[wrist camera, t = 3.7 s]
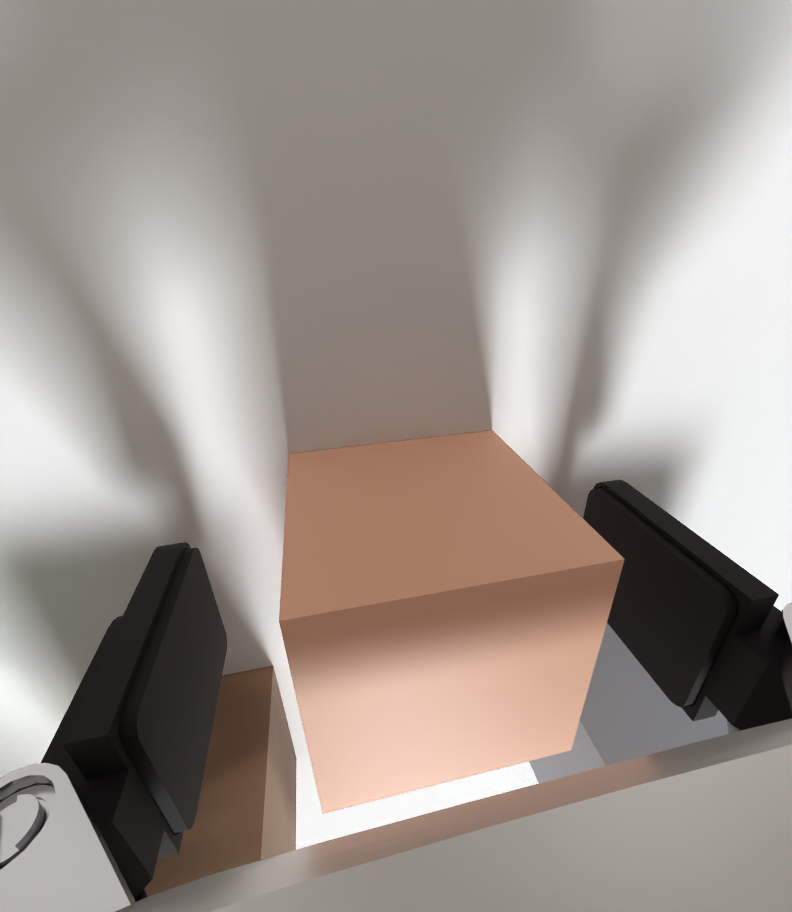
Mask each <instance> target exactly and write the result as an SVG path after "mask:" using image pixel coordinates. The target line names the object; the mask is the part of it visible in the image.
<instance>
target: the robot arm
mask: <svg viewBox="0 0 792 912" xmlns="http://www.w3.org/2000/svg"><path fill="white" fill-rule="evenodd" d="M583 519H584V520H585V521H586V522H587V523H588V524H589V525H590V526H591V527H592V528H593V529H594V530H595V531H596V532H597V533H598V534H599V535H600V536H601V537H602V538H603V539H604V540H605V541H607V542H608V543H609V544H610V545H611V546H612V547H613V548H614V549H615V550H616V551H617V552H618V553H619V554H620V555H621V556H622V557H623V558H624V559H625V560H624V563H623V567H622V570H621V574H620V578H619V581H618V585H617V588H616V592H615V595H614V599H613V603H612V606H611V610H610V613H609V617H608V620H607V623H608V624H609V626H610V627H611V628H612V629H613V631H614V632H615V633H616V634H617V636H618V637H619V638H620V639H621V641H622V642H623V643H624V644H625V646H626V647H627V648H628V649H629V650H630V652H631V653H632V654H633V655H634V657H635V658H636V659H637V660H638V662H639V663H640V664H641V665H642V667H643V668H644V669H645V670H646V672H647V673H648V674H649V675H650V677H651V678H652V679H653V680H654V681H655V683H656V684H657V685H658V686H659V688H660V689H661V690H662V691H663V693H664V694H665V695H666V696H667V698H668V699H669V700H670V701H671V702H672V703H673V704H675V705H676V706H679V707H681V708H682V709H683V710H684V712H685V713H686V714H687V715H688V716H689V718H690V719H691V720H692V721H693V722H694V721H698V720H702V719H706V718H710V717H714V716H716V714H717V712H718V710H719V711H720V712H721V713H722V715H723V716H724V717H725V718H726V719H727V726H728V733H729V734H726V735H722V736H718V737H715V738H711V739H707V740H703V741H699V742H695V743H691V744H688V745H684V746H680V747H676V748H672V749H668V750H665V751H661V752H657V753H653V754H649V755H645V756H642V757H638V758H634V759H630V760H626V761H622V762H619V763H615V764H611V765H607V766H604V767H600V768H596V769H592V770H589V771H585V772H581V773H577V774H574V775H570V776H566V777H562V778H558V779H555V780H551V781H547V782H543V783H540V784H536V785H532V786H528V787H525V788H521V789H517V790H514V791H510V792H506V793H502V794H499V795H495V796H491V797H487V798H484V799H480V800H476V801H472V802H469V803H465V804H461V805H458V806H454V807H450V808H447V809H443V810H439V811H436V812H432V813H428V814H425V815H421V816H417V817H414V818H410V819H406V820H403V821H399V822H395V823H392V824H388V825H384V826H381V827H377V828H373V829H370V830H366V831H362V832H359V833H355V834H351V835H348V836H344V837H340V838H337V839H333V840H329V841H326V842H322V843H318V844H315V845H311V846H308V847H304V848H301V849H298V850H294V851H291V852H287V853H284V854H281V855H277V856H274V857H270V858H267V859H264V860H260V861H257V862H253V863H250V864H246V865H243V866H240V867H236V868H233V869H229V870H226V871H223V872H219V873H216V874H212V875H209V876H206V877H203V878H200V879H197V880H195V881H192V882H189V883H186V884H183V885H180V886H177V887H174V888H172V889H169V890H166V891H163V892H160V893H157V894H154V895H152V896H151V895H150V893H149V891H148V889H147V888H146V886H147V885H148V884H149V883H150V881H151V880H152V879H153V876H154V871H155V867H156V863H157V860H158V859H162V858H166V857H170V856H173V855H177V854H179V851H180V846H181V841H182V836H183V831H185V830H189V829H191V828H192V827H193V824H194V822H195V818H196V814H197V808H198V803H199V797H200V792H201V786H202V781H203V775H204V770H205V764H206V759H207V753H208V748H209V742H210V737H211V732H212V726H213V721H214V715H215V710H216V704H217V699H218V693H219V688H220V682H221V677H222V671H223V666H224V660H225V655H226V649H227V638H226V633H225V629H224V626H223V623H222V620H221V617H220V613H219V610H218V607H217V604H216V601H215V598H214V595H213V591H212V588H211V585H210V582H209V579H208V576H207V572H206V569H205V566H204V563H203V560H202V557H201V554H200V551H199V549H198V548H190V546H189V545H188V543H178V544H172V545H165V546H159V547H157V548H156V549H155V550H154V552H153V554H152V556H151V558H150V560H149V563H148V565H147V567H146V569H145V571H144V573H143V575H142V577H141V579H140V581H139V584H138V586H137V588H136V590H135V592H134V594H133V596H132V598H131V600H130V602H129V604H128V607H127V609H126V611H125V613H124V615H123V616H120V617H117V618H116V619H115V620H113V622H112V623H111V625H110V626H109V628H108V630H107V632H106V634H105V636H104V638H103V640H102V642H101V644H100V646H99V648H98V650H97V652H96V654H95V656H94V658H93V660H92V662H91V664H90V666H89V668H88V670H87V672H86V674H85V676H84V678H83V680H82V682H81V684H80V686H79V688H78V690H77V692H76V694H75V696H74V698H73V700H72V702H71V704H70V706H69V708H68V710H67V712H66V714H65V716H64V718H63V720H62V722H61V724H60V726H59V728H58V730H57V732H56V734H55V736H54V738H53V740H52V742H51V744H50V746H49V748H48V750H47V752H46V754H45V756H44V758H43V760H42V762H41V763H40V764H33V765H28V766H25V767H23V768H20V769H18V770H15V771H13V772H10V773H8V774H7V775H5V776H3V777H2V778H0V912H792V603H789V604H787V605H786V606H785V607H784V609H783V610H782V612H781V611H780V610H778V609H777V608H776V607H774V606H773V605H774V603H775V601H776V599H777V597H778V594H777V593H776V592H774V591H773V590H772V589H770V588H769V587H768V586H766V585H765V584H764V583H762V582H761V581H759V580H758V579H757V578H755V577H754V576H753V575H751V574H750V573H749V572H747V571H746V570H745V569H743V568H742V567H740V566H739V565H738V564H736V563H735V562H734V561H732V560H731V559H730V558H728V557H727V556H725V555H724V554H723V553H721V552H720V551H719V550H717V549H716V548H715V547H713V546H712V545H711V544H709V543H708V542H706V541H705V540H704V539H702V538H701V537H700V536H698V535H697V534H696V533H694V532H693V531H691V530H690V529H689V528H687V527H686V526H685V525H683V524H682V523H681V522H679V521H678V520H677V519H675V518H674V517H672V516H671V515H670V514H668V513H667V512H666V511H664V510H663V509H662V508H660V507H659V506H658V505H656V504H655V503H653V502H652V501H651V500H649V499H648V498H647V497H645V496H644V495H643V494H641V493H640V492H638V491H637V490H636V489H634V488H633V487H632V486H630V485H629V484H628V483H626V482H625V481H623V480H614V481H607V482H600V483H597V484H596V485H595V486H594V489H593V490H591V491H590V492H589V494H588V499H587V504H586V508H585V513H584V518H583Z"/></svg>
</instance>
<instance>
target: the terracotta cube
mask: <svg viewBox="0 0 792 912" xmlns="http://www.w3.org/2000/svg"><path fill="white" fill-rule="evenodd" d="M624 560H625V559H624V558H623V557H622V556H621V555H620V554H619V553H618V552H617V551H616V550H615V549H614V548H613V547H612V546H611V545H610V544H609V543H608V542H607V541H605V540H604V539H603V538H602V537H601V536H600V535H599V534H598V533H597V532H596V531H595V530H594V529H593V528H592V527H591V526H590V525H589V524H588V523H587V522H586V521H585V520H584V519H583V518H582V517H581V516H580V515H579V514H578V513H577V512H576V511H575V510H574V509H573V508H572V507H571V506H570V505H569V504H568V503H566V502H565V501H564V500H563V499H562V498H561V497H560V496H559V495H558V494H557V493H556V492H555V491H554V490H553V489H552V488H551V487H550V486H549V485H548V484H547V483H546V482H545V481H544V480H543V479H542V478H541V477H540V476H539V475H538V474H537V473H536V472H535V471H534V470H533V469H532V468H531V467H530V466H528V465H527V464H526V463H525V462H524V461H523V460H522V459H521V458H520V457H519V456H518V455H517V454H516V453H515V452H514V451H513V450H512V449H511V448H510V447H509V446H508V445H507V444H506V443H505V442H504V441H503V440H502V439H501V438H500V437H499V436H498V435H497V434H496V433H495V432H494V431H493V430H489V431H481V432H472V433H463V434H455V435H446V436H437V437H429V438H420V439H411V440H403V441H394V442H385V443H377V444H368V445H359V446H351V447H342V448H333V449H325V450H316V451H308V452H299V453H290V454H289V457H288V475H287V492H286V510H285V527H284V545H283V562H282V580H281V597H280V615H279V623H280V627H281V631H282V636H283V640H284V645H285V649H286V654H287V658H288V662H289V667H290V671H291V676H292V680H293V685H294V689H295V693H296V698H297V702H298V707H299V711H300V716H301V720H302V724H303V729H304V733H305V738H306V742H307V747H308V751H309V755H310V760H311V764H312V769H313V773H314V777H315V782H316V786H317V791H318V795H319V800H320V804H321V808H322V813H323V814H324V813H328V812H332V811H336V810H340V809H344V808H348V807H352V806H355V805H359V804H363V803H367V802H371V801H375V800H379V799H383V798H387V797H391V796H395V795H398V794H402V793H406V792H410V791H414V790H418V789H422V788H426V787H430V786H434V785H438V784H441V783H445V782H449V781H453V780H457V779H461V778H465V777H469V776H473V775H477V774H481V773H484V772H488V771H492V770H496V769H500V768H504V767H508V766H512V765H516V764H520V763H523V762H527V761H531V760H535V759H539V758H543V757H547V756H551V755H555V754H559V753H563V752H566V751H570V750H571V749H572V745H573V742H574V738H575V735H576V731H577V727H578V724H579V720H580V717H581V713H582V710H583V706H584V702H585V699H586V695H587V692H588V688H589V685H590V681H591V677H592V674H593V670H594V667H595V663H596V660H597V656H598V652H599V649H600V645H601V642H602V638H603V635H604V631H605V628H606V624H607V620H608V617H609V613H610V610H611V606H612V603H613V599H614V595H615V592H616V588H617V585H618V581H619V578H620V574H621V570H622V567H623V563H624Z"/></svg>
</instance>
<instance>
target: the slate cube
mask: <svg viewBox="0 0 792 912" xmlns="http://www.w3.org/2000/svg"><path fill="white" fill-rule="evenodd" d="M726 734H729V733H728V726H727V719H726V718H725V717H724V716H723V715H722V713H721V712H720V711H719V710H718V712H717V714H716V716H714V717H710V718H706V719H702V720H698V721H694V722H693V721H692V720H691V719H690V718H689V716H688V715H687V714H686V713H685V712H684V710H683V709H682V708H681V707H679V706H676V705H675V704H673V703H672V702H671V701H670V700H669V699H668V698H667V696H666V695H665V694H664V693H663V691H662V690H661V689H660V688H659V686H658V685H657V684H656V683H655V681H654V680H653V679H652V678H651V677H650V675H649V674H648V673H647V672H646V670H645V669H644V668H643V667H642V665H641V664H640V663H639V662H638V660H637V659H636V658H635V657H634V655H633V654H632V653H631V652H630V650H629V649H628V648H627V647H626V646H625V644H624V643H623V642H622V641H621V639H620V638H619V637H618V636H617V634H616V633H615V632H614V631H613V629H612V628H611V627H610V626H609V624H608V623H607V624H606V628H605V631H604V635H603V638H602V642H601V645H600V649H599V652H598V656H597V660H596V663H595V667H594V670H593V674H592V677H591V681H590V685H589V688H588V692H587V695H586V699H585V702H584V706H583V710H582V713H581V717H580V720H579V724H578V727H577V731H576V735H575V738H574V742H573V745H572V749H571V750H570V751H566V752H563V753H559V754H555V755H551V756H547V757H543V758H539V759H535V760H531V761H529V762H530V764H531V766H532V769H533V771H534V773H535V776H536V778H537V780H538V782H539V784H540V783H543V782H547V781H551V780H555V779H558V778H562V777H566V776H570V775H574V774H577V773H581V772H585V771H589V770H592V769H596V768H600V767H604V766H607V765H611V764H615V763H619V762H622V761H626V760H630V759H634V758H638V757H642V756H645V755H649V754H653V753H657V752H661V751H665V750H668V749H672V748H676V747H680V746H684V745H688V744H691V743H695V742H699V741H703V740H707V739H711V738H715V737H718V736H722V735H726Z"/></svg>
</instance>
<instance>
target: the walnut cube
mask: <svg viewBox="0 0 792 912" xmlns="http://www.w3.org/2000/svg"><path fill="white" fill-rule="evenodd" d="M294 850H296V755H295V751H294V747H293V743H292V739H291V735H290V731H289V727H288V723H287V719H286V715H285V711H284V707H283V703H282V699H281V695H280V691H279V687H278V683H277V679H276V675H275V671H274V667H273V666H270V667H265V668H260V669H255V670H249V671H244V672H239V673H234V674H229V675H224V676H222V677H221V682H220V688H219V693H218V699H217V704H216V710H215V715H214V721H213V726H212V732H211V737H210V742H209V748H208V753H207V759H206V764H205V770H204V775H203V781H202V786H201V792H200V797H199V803H198V808H197V814H196V818H195V822H194V824H193V827H192V828H191V829H189V830H185V831H183V836H182V841H181V846H180V851H179V854H177V855H173V856H170V857H166V858H162V859H158V860H157V863H156V867H155V871H154V876H153V879H152V880H151V881H150V883H149V884H148V885H147V886H146V888H147V889H148V891H149V893H150V895H151V896H152V895H154V894H157V893H160V892H163V891H166V890H169V889H172V888H174V887H177V886H180V885H183V884H186V883H189V882H192V881H195V880H197V879H200V878H203V877H206V876H209V875H212V874H216V873H219V872H223V871H226V870H229V869H233V868H236V867H240V866H243V865H246V864H250V863H253V862H257V861H260V860H264V859H267V858H270V857H274V856H277V855H281V854H284V853H287V852H291V851H294Z"/></svg>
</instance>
